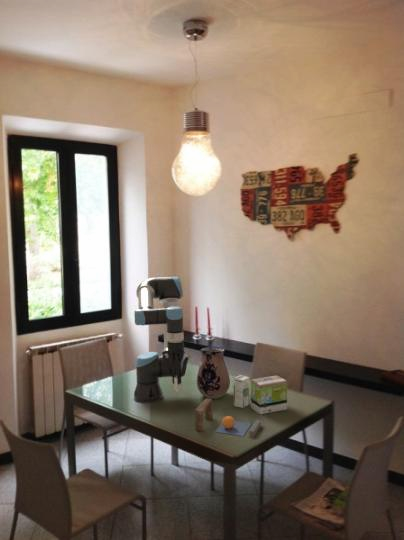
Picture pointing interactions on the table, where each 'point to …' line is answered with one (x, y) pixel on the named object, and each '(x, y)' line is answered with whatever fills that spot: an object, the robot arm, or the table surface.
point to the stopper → (255, 428)
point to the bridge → (199, 410)
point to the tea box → (268, 394)
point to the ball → (228, 422)
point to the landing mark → (234, 429)
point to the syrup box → (241, 391)
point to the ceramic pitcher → (213, 373)
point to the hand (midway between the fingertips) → (177, 390)
